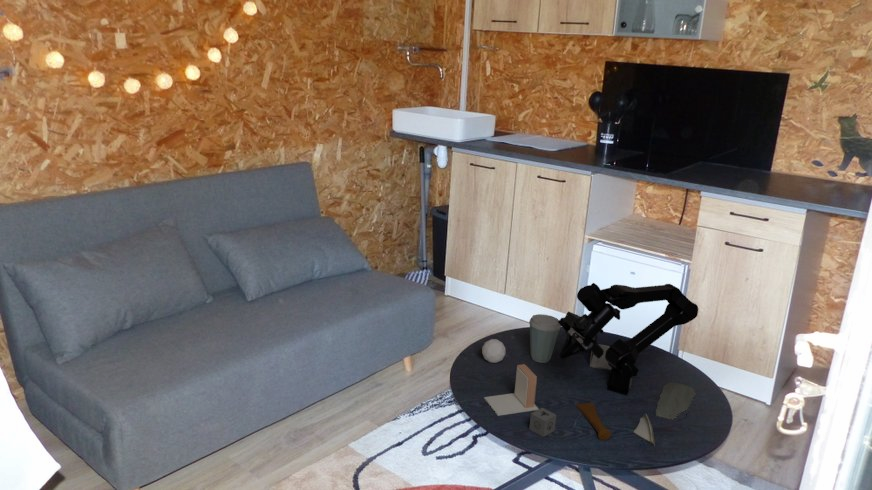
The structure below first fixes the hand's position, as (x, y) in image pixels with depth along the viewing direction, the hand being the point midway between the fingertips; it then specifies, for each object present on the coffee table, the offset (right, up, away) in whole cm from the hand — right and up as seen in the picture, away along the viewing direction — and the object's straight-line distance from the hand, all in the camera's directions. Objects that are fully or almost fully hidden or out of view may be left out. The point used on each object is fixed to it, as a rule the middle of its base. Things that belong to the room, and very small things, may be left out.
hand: (560, 357), depth 208 cm
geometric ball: (-18, -5, +25) cm, 31 cm away
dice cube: (-7, -18, -13) cm, 24 cm away
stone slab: (+36, -15, +5) cm, 39 cm away
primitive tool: (+8, -18, -7) cm, 20 cm away
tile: (-11, -13, 0) cm, 17 cm away
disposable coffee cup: (-1, -5, +28) cm, 29 cm away
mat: (-15, -14, -1) cm, 20 cm away
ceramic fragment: (+22, -20, -11) cm, 32 cm away
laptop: (+23, -6, +31) cm, 39 cm away
